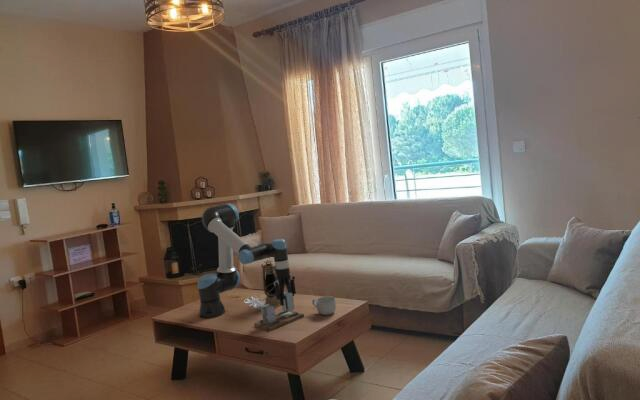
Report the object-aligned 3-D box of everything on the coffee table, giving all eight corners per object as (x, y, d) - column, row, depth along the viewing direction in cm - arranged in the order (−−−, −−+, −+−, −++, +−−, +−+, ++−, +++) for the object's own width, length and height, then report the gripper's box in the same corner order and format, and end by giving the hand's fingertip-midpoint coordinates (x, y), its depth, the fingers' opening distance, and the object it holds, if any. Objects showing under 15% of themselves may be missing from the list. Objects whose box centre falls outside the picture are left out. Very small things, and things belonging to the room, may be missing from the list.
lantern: (259, 306, 285) (252, 257, 283) (273, 300, 294) (266, 253, 291) (275, 309, 276) (268, 259, 273) (289, 302, 284) (283, 254, 281)
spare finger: (287, 307, 261) (285, 291, 260) (294, 309, 257) (292, 293, 256) (281, 309, 258) (279, 294, 258) (288, 311, 254) (286, 295, 253)
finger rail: (254, 326, 251) (252, 307, 250) (288, 312, 267) (285, 294, 266) (270, 331, 241) (267, 311, 240) (304, 316, 256) (301, 298, 255)
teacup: (340, 311, 258) (339, 297, 257) (327, 318, 250) (325, 303, 249) (322, 308, 267) (320, 294, 266) (309, 314, 259) (307, 300, 259)
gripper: (290, 263, 264) (295, 303, 266) (265, 271, 253) (271, 313, 255) (298, 264, 258) (304, 305, 261) (273, 272, 247) (279, 315, 249)
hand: (288, 309), depth 258 cm, fingers closed on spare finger, 4 cm apart
